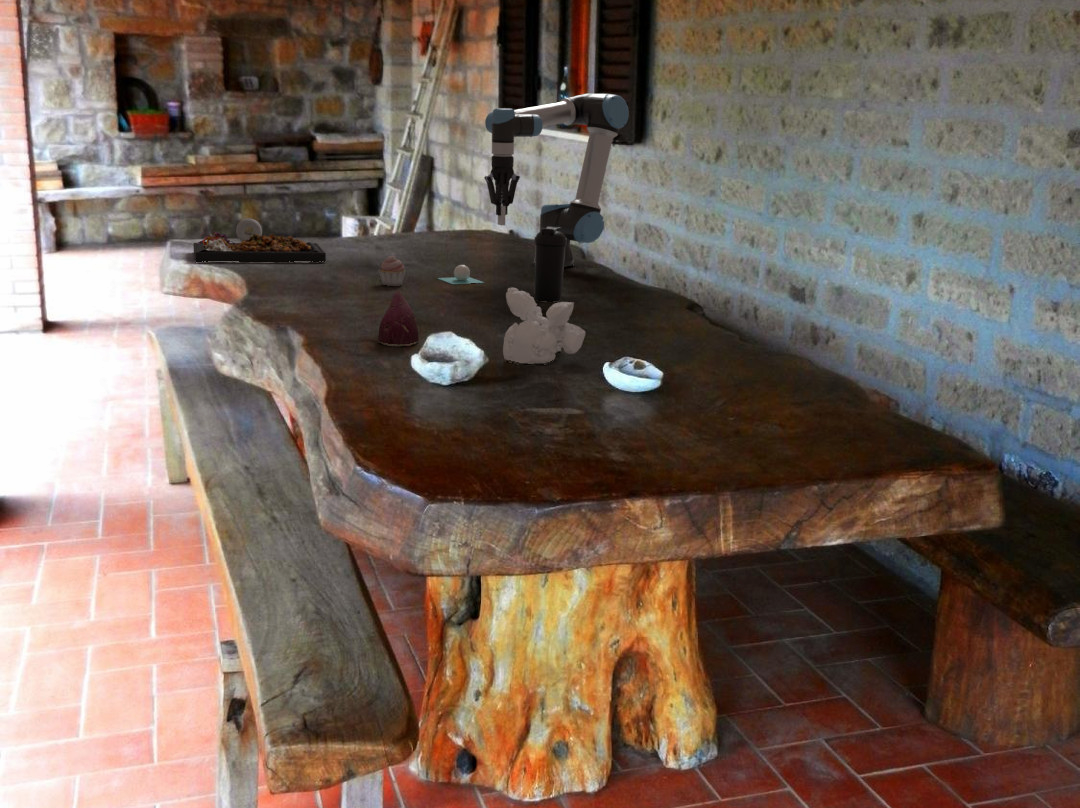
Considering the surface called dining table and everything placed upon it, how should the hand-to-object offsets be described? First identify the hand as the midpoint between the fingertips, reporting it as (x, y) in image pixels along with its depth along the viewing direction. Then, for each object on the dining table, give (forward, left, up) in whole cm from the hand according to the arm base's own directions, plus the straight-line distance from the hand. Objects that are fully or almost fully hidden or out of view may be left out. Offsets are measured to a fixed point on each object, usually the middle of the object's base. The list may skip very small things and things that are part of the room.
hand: (501, 224), depth 396 cm
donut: (+61, -96, -19) cm, 115 cm away
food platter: (+67, -60, -19) cm, 92 cm away
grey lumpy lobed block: (+48, +112, -19) cm, 123 cm away
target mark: (+17, +3, -18) cm, 25 cm away
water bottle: (+6, +43, -19) cm, 47 cm away
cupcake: (+43, +5, -19) cm, 47 cm away
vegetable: (+75, +85, -19) cm, 115 cm away
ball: (+16, +3, -16) cm, 23 cm away
